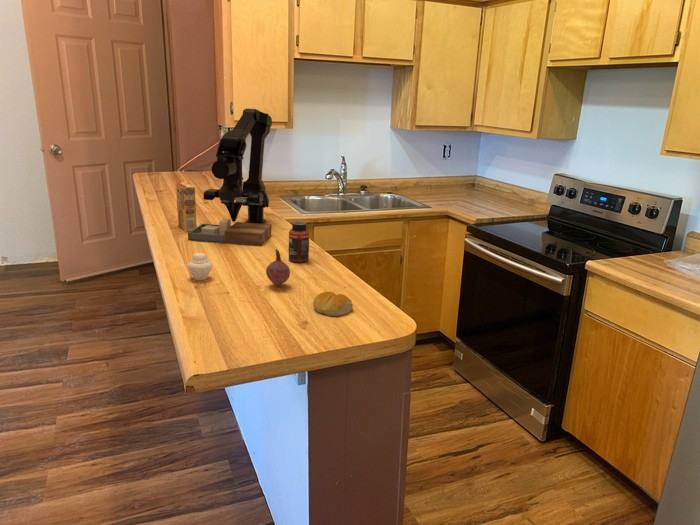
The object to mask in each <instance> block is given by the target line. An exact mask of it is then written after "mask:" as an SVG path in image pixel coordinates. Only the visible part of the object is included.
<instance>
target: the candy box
mask: <svg viewBox="0 0 700 525" xmlns="http://www.w3.org/2000/svg"><path fill="white" fill-rule="evenodd" d="M175 190H176V207H177V208H176V209H177V223H178V226H180V227H179V228H181V229H182V230H183V231H184V232H190V231H192V230H193V229H195V228H196V227H198V226H197V210H196V209H197V208H196V207H197V206H196V205H197V203H196V202H197V201H196V187H195V186H194V185H193V184H191V183H189V182H176V183H175Z"/></svg>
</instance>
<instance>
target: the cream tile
mask: <svg viewBox="0 0 700 525" xmlns="http://www.w3.org/2000/svg"><path fill="white" fill-rule="evenodd" d="M218 225H219V235H225V230H227V229H228V228H229V227H231V226H232V219H231V218H230V219H228V218H227V219H226V218H222V219H221V220H219V221H218Z"/></svg>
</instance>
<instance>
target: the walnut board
mask: <svg viewBox="0 0 700 525" xmlns="http://www.w3.org/2000/svg"><path fill="white" fill-rule="evenodd" d="M270 236H271V237H272V224H268V223H263V224H259V223H245V221H244V222H242V221H235V222H233V224H231V227H229V228H228V229H227V230H225V242H224V244H229V245H231V244H232V245H242V246H254V247H255V246H256V247H262V246H263V245H264V244H265V243H266V242H267V241H268V240H269V239H270V238H271V237H270Z"/></svg>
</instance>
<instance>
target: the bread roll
mask: <svg viewBox="0 0 700 525" xmlns="http://www.w3.org/2000/svg"><path fill="white" fill-rule="evenodd" d="M312 306H313V309H314V311H316V313H319V314H325V315H327V316H330V317H340V316H344V315H347V314H349V313H350V312H351V311H352V309H353V306H354V305H353V302H352V299H350V298H349V297H348V296H347V295H345V294H342V293H337V294H336V293H335V292H332V291H323V292H321V293H318V294H316V296H315V297H314V299H313V302H312Z"/></svg>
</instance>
